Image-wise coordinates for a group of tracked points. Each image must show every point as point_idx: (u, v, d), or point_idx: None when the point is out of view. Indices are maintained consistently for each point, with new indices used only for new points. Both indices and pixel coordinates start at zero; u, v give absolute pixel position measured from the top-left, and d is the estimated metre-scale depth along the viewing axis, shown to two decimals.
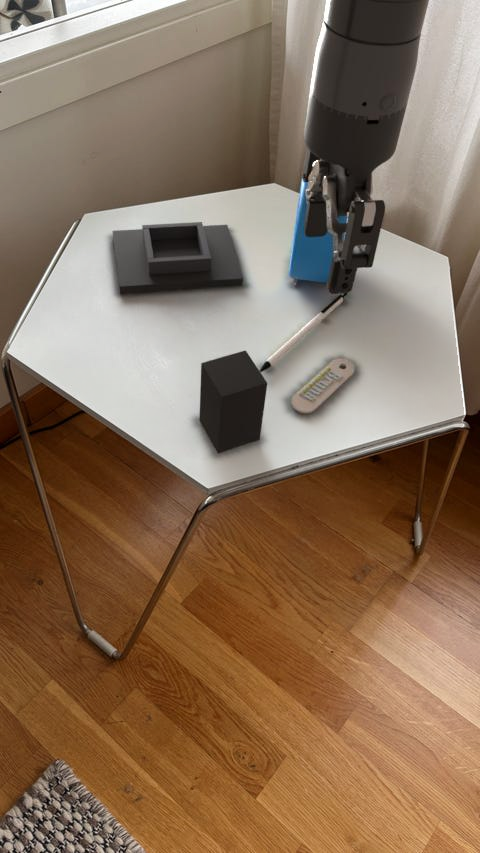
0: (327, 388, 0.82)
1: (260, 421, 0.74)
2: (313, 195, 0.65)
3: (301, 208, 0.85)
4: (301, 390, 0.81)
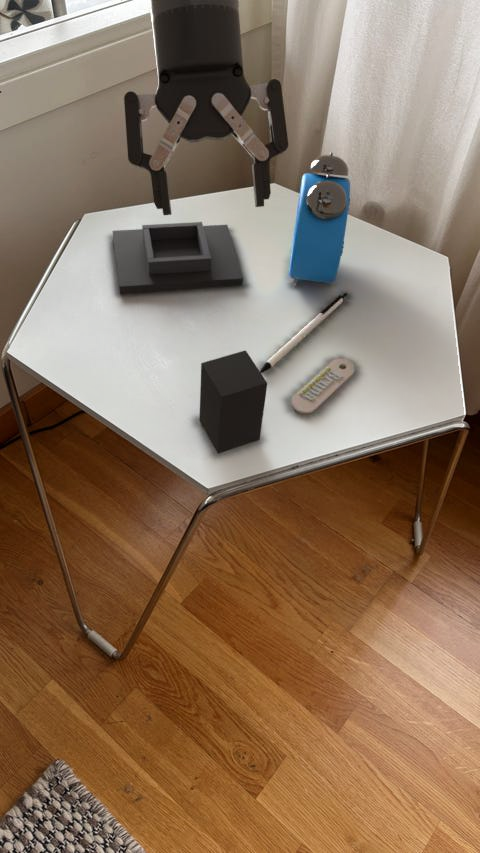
0: (327, 388, 0.82)
1: (260, 421, 0.74)
2: (166, 159, 0.63)
3: (301, 208, 0.85)
4: (301, 390, 0.81)
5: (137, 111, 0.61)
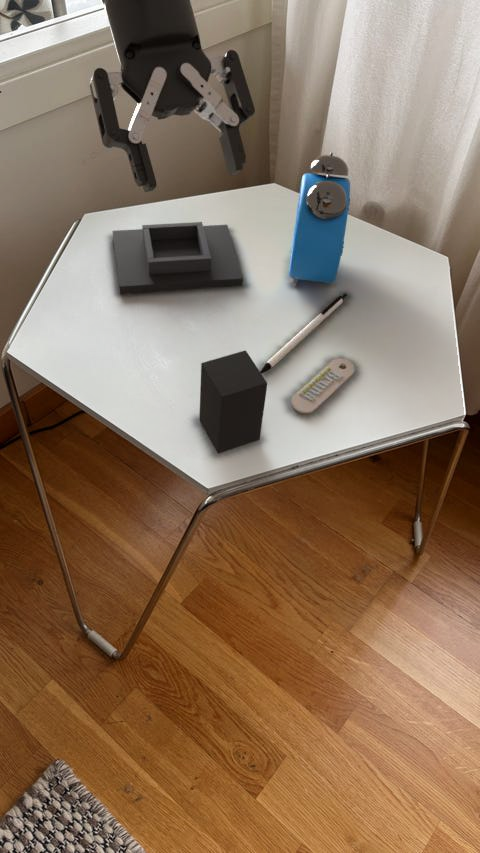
0: (327, 388, 0.82)
1: (260, 421, 0.74)
2: None
3: (301, 208, 0.85)
4: (301, 390, 0.81)
5: (109, 87, 0.61)
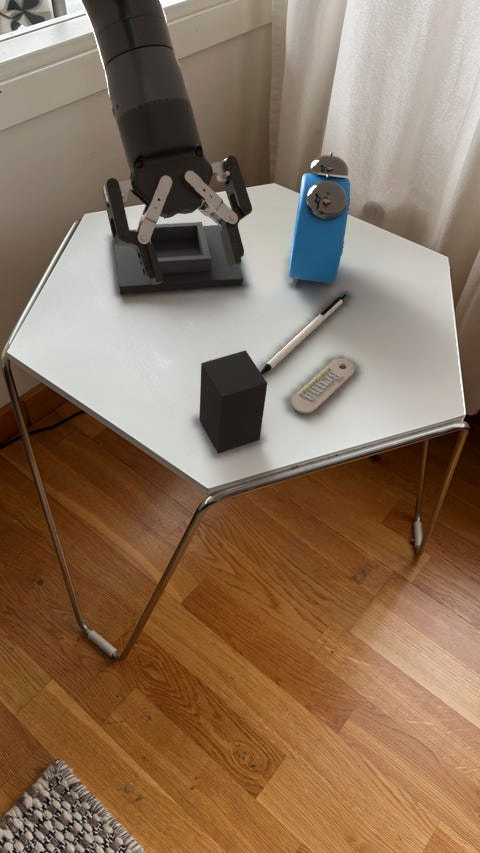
0: (327, 388, 0.82)
1: (260, 421, 0.74)
2: (151, 233, 0.69)
3: (301, 208, 0.85)
4: (301, 390, 0.81)
5: (120, 194, 0.67)
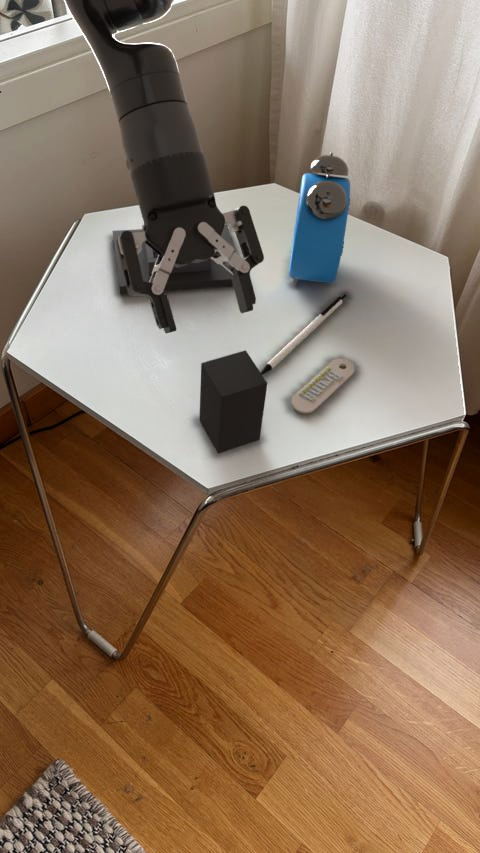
0: (327, 388, 0.82)
1: (260, 421, 0.74)
2: None
3: (301, 208, 0.85)
4: (301, 390, 0.81)
5: (134, 246, 0.68)
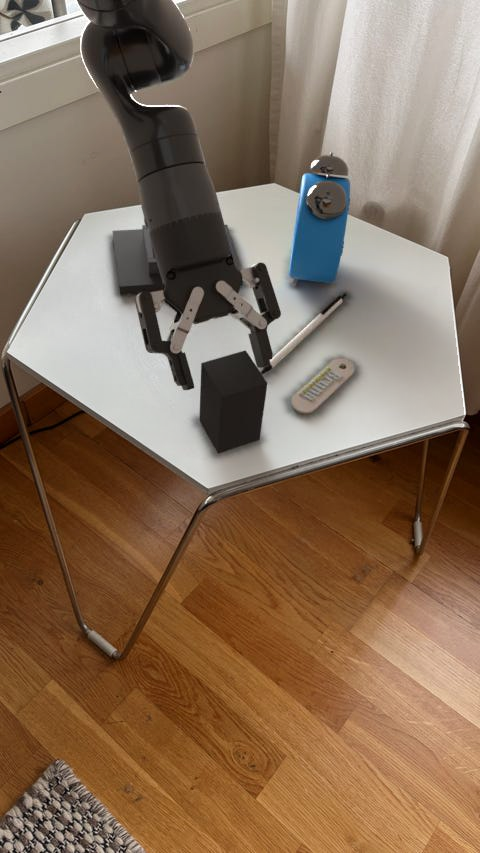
0: (327, 388, 0.82)
1: (260, 421, 0.74)
2: (183, 342, 0.70)
3: (301, 208, 0.85)
4: (301, 390, 0.81)
5: (153, 306, 0.68)
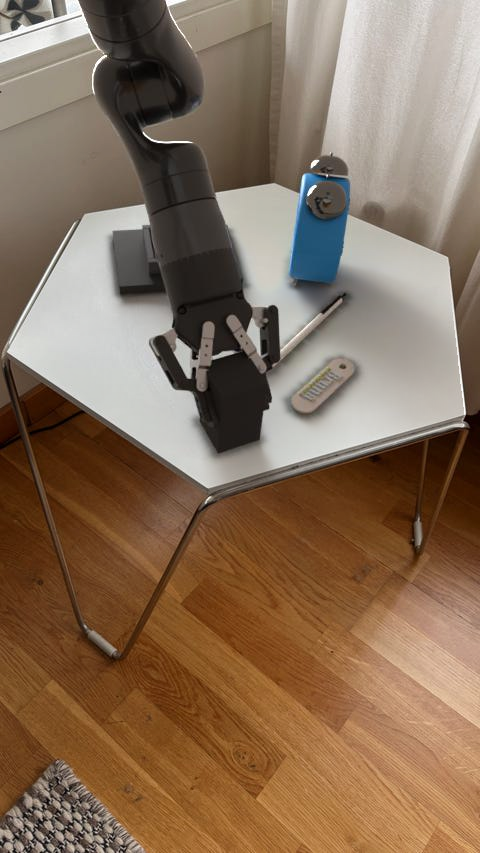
0: (327, 388, 0.82)
1: (260, 421, 0.74)
2: (207, 377, 0.71)
3: (301, 208, 0.85)
4: (301, 390, 0.81)
5: (169, 348, 0.69)
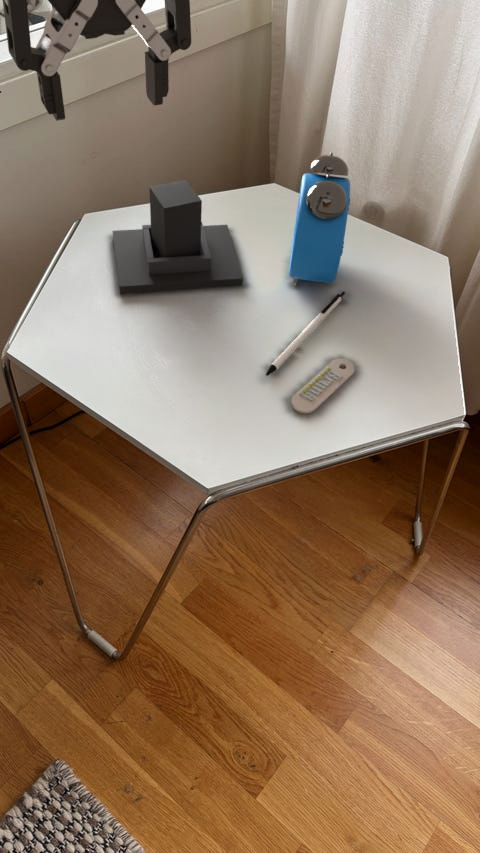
0: (327, 388, 0.82)
1: (199, 240, 0.92)
2: None
3: (301, 208, 0.85)
4: (301, 390, 0.81)
5: (25, 8, 0.51)
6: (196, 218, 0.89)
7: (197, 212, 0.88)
